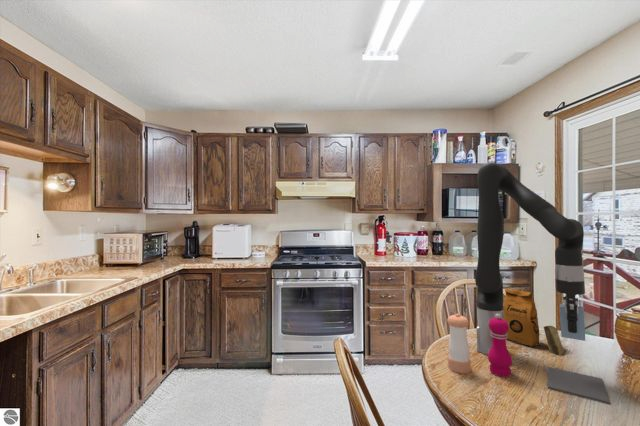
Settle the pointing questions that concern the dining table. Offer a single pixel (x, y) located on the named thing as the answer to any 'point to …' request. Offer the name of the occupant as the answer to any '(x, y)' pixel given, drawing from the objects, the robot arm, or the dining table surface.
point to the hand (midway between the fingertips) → (572, 330)
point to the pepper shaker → (458, 344)
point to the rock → (553, 340)
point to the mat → (577, 384)
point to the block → (580, 324)
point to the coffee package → (521, 317)
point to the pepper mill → (499, 348)
